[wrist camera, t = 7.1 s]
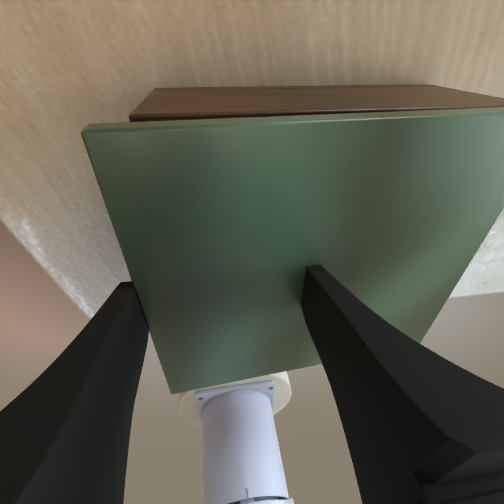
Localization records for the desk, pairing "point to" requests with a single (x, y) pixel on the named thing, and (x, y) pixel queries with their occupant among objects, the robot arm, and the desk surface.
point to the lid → (292, 225)
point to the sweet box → (301, 101)
